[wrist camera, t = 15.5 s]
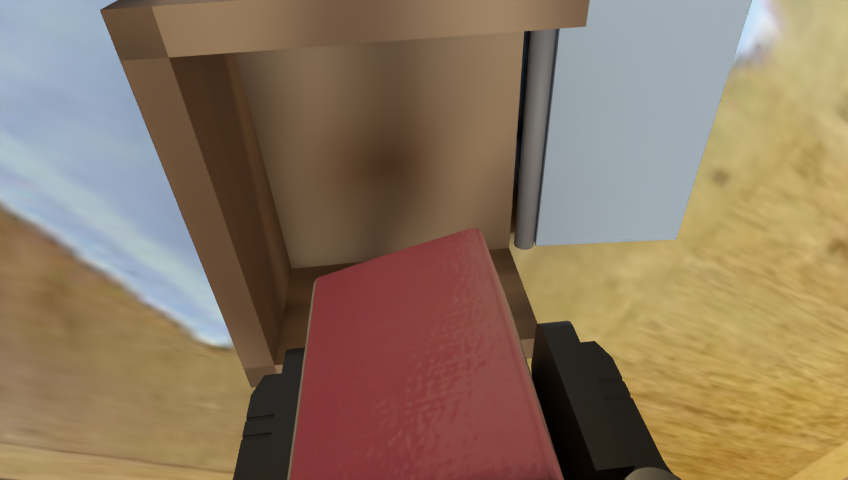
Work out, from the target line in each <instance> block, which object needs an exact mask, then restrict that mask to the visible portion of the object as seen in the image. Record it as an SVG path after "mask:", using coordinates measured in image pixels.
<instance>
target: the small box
mask: <svg viewBox="0 0 848 480" xmlns="http://www.w3.org/2000/svg"><path fill="white" fill-rule="evenodd" d="M287 480H564V478H563V475H562V471H561V468H560V465H559V462H558V459H557V455H556V452H555V449H554V446H553V443H552V440H551V437H550V433H549V430H548V427H547V424H546V421H545V417H544V414H543V411H542V408H541V405H540V401H539V398H538V395H537V392H536V389H535V385H534V382H533V379H532V376H531V373H530V369H529V366H528V363H527V360H526V356H525V353H524V350H523V347H522V344H521V341H520V338H519V335H518V331H517V328H516V325H515V322H514V319H513V316H512V313H511V310H510V307H509V304H508V301H507V298H506V295H505V292H504V290H503V287H502V285H501V282H500V279H499V277H498V274H497V272H496V269H495V266H494V264H493V261H492V258H491V256H490V253H489V250H488V248H487V245H486V242H485V240H484V237H483V235H482V233H481V231H480V230H479V229H477V228H469V229H466V230H463V231H460V232H457V233H453V234H451V235H447V236H444V237H441V238H438V239H434V240H431V241H428V242H424V243H421V244H418V245H415V246H412V247H408V248H405V249H402V250H399V251H396V252H393V253H389V254H386V255H383V256H380V257H377V258H374V259H372V260H368V261H365V262H363V263H360V264H356V265H353V266H351V267H348V268H345V269H343V270H340V271H337V272H333V273H331V274H328V275H324V276H321V277H318V278H317V279H316V280H315V282H314V286H313V293H312V300H311V308H310V315H309V322H308V330H307V339H306V346H305V352H304V359H303V367H302V375H301V383H300V390H299V397H298V405H297V413H296V420H295V427H294V434H293V441H292V449H291V456H290V464H289V470H288V477H287Z"/></svg>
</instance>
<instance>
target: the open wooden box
mask: <svg viewBox="0 0 848 480" xmlns="http://www.w3.org/2000/svg"><path fill="white" fill-rule="evenodd" d="M589 2H590V0H117V1H116V2H114V3H112V4H110V5H108V6H106V7H105V8H103V9H101V10H100V12H101V14H102V17H103V19H104V21H105V24H106V26H107V29H108V31H109V34H110V36H111V39H112V41H113V44H114V46H115V49H116V51H117V54H118V56H119V59H120V61H121V64H122V66H123V69H124V71H125V74H126V76H127V79H128V81H129V84H130V86H131V89H132V91H133V94H134V96H135V99H136V101H137V104H138V106H139V109H140V111H141V114H142V116H143V119H144V121H145V124H146V126H147V129H148V131H149V134H150V136H151V139H152V141H153V144H154V146H155V149H156V151H157V154H158V156H159V159H160V161H161V164H162V166H163V169H164V171H165V174H166V176H167V179H168V181H169V184H170V186H171V189H172V191H173V194H174V196H175V199H176V201H177V204H178V206H179V209H180V211H181V214H182V216H183V219H184V221H185V224H186V226H187V229H188V231H189V234H190V236H191V239H192V241H193V243H194V246H195V248H196V251H197V253H198V256H199V258H200V261H201V263H202V266H203V268H204V271H205V273H206V276H207V278H208V281H209V283H210V286H211V288H212V291H213V293H214V296H215V298H216V301H217V303H218V306H219V308H220V311H221V313H222V316H223V318H224V321H225V323H226V326H227V328H228V331H229V333H230V336H231V338H232V341H233V343H234V346H235V348H236V351H237V353H238V356H239V358H240V361H241V363H242V366H243V368H244V371H245V373H246V376H247V378H248V381H249V383H250V386H251V388H252V387H257V386H258V384H259V383H260V381H261V380H262V378H263V377H264V375H270V374H279V373H282V368H283V361H284V356H285V352H286V350H287V349H292V348H302V347H305V346H306V339H307V330H308V322H309V315H310V308H311V300H312V293H313V286H314V282H315V280H316V279H317V278H318V277H321V276H324V275H328V274H331V273H333V272H337V271H340V270H343V269H345V268H348V267H351V266H353V265H356V264H360V263H363V262H365V261H368V260H372V259H374V258H377V257H380V256H383V255H386V254H389V253H393V252H396V251H399V250H402V249H405V248H408V247H412V246H415V245H418V244H421V243H424V242H428V241H431V240H434V239H438V238H441V237H444V236H447V235H451V234H453V233H457V232H460V231H463V230H466V229H469V228H477V229H479V230H480V231H481V233H482V235H483V237H484V240H485V242H486V245H487V248H488V250H489V253H490V256H491V258H492V261H493V264H494V266H495V269H496V272H497V274H498V277H499V279H500V282H501V285H502V287H503V290H504V292H505V295H506V298H507V301H508V304H509V307H510V310H511V313H512V316H513V319H514V322H515V325H516V328H517V331H518V335H519V338H520V341H521V344H522V347H523V350H524V353H525V356H526V359H527V358H532V355H533V347H534V338H535V330H536V326H537V321H536V319H535V316H534V313H533V311H532V308H531V305H530V303H529V300H528V297H527V295H526V292H525V289H524V287H523V284H522V281H521V279H520V276H519V273H518V271H517V268H516V265H515V263H514V260H513V257H512V255H511V252H510V250H509V240H510V226H511V211H512V197H513V183H514V169H515V154H516V140H517V126H518V111H519V97H520V83H521V69H522V54H523V40H524V31H535V30H548V29H562V28H575V27H586V23H587V16H588V9H589Z"/></svg>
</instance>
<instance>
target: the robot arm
mask: <svg viewBox="0 0 848 480" xmlns="http://www.w3.org/2000/svg"><path fill="white" fill-rule="evenodd" d="M304 352H305V347H302V348H292V349H287V350H286V352H285V356H284V361H283V368H282V373H279V374H270V375H264V377H263V378H262V380H261V381H260V383H259V384H258V386H257V387H256V389H255V390H254V392H253V393H252V395H251V398H250V403H249V408H248V412H247V417H246V418H247V421H246V422H245V426H244V431H243V435H242V436H243V440H241V445H240V449H239V454H238V459H237V463H236V468H235V473H234V477H233V480H287V477H288V470H289V464H290V456H291V449H292V441H293V434H294V427H295V420H296V413H297V405H298V397H299V390H300V383H301V375H302V367H303V359H304ZM531 373H532V379H533V382H534V385H535V389H536V392H537V395H538V398H539V401H540V405H541V408H542V411H543V414H544V417H545V421H546V424H547V427H548V430H549V433H550V437H551V440H552V443H553V446H554V449H555V452H556V455H557V459H558V462H559V465H560V468H561V471H562V475H563V478H564V480H681V479H680V478H679V477H677V476H675V475H674V474H673V473H672V472H671V471H670V470H669V468H668V467H667V466H666V464H665V462H664V461H663V459H662V457H661V455H660V453H659V451H658V449H657V447H656V445H655V443H654V441H653V439H652V437H651V435H650V433H649V431H648V429H647V427H646V425H645V423H644V421H643V419H642V417H641V415H640V413H639V411H638V409H637V407H636V405H635V403H634V401H633V399H632V398H631V397H630V392H629V390H628V388H627V386H626V384H625V382H623V381H622V376H621V374H620V372H619V370H618V368H617V366H616V364H615V362H614V360H613V358H612V357H611V356H610V355H609V354H608V353H607V352H606V351H605V350H604V349H603V348H602V347H601V346H599V345H598V344H597V343H596V342H595V341H591V342H582V343H580V341H579V338H578V336H577V334H576V332H575V329H574V327H573V325H572V324H571V322H570V321H561V322H551V323H541V324H537V326H536V330H535V338H534V347H533V355H532V363H531Z"/></svg>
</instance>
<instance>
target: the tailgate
mask: <svg viewBox="0 0 848 480" xmlns="http://www.w3.org/2000/svg"><path fill="white" fill-rule="evenodd" d="M751 2H752V0H590V2H589V9H588V16H587V23H586V27H575V28H562V29H548V30H535V31H530V41H529V54H528V67H527V80H526V93H525V106H524V119H523V132H522V145H521V158H520V171H519V184H518V197H517V210H516V223H515V236H514V245H515V246H516V247H517V248H519V249H524V250H526V249H530V248H532V247H533V246H534V242H535V245H536V246H545V245H566V244H588V243H609V242H630V241H652V240H673V239H676V238H677V235H678V232H679V229H680V226H681V223H682V219H683V216H684V213H685V210H686V207H687V204H688V200H689V197H690V194H691V191H692V188H693V185H694V182H695V178H696V175H697V172H698V169H699V166H700V163H701V159H702V156H703V153H704V150H705V147H706V144H707V141H708V137H709V134H710V131H711V128H712V125H713V122H714V118H715V115H716V112H717V109H718V106H719V103H720V100H721V96H722V93H723V90H724V87H725V84H726V81H727V77H728V74H729V71H730V68H731V65H732V62H733V59H734V55H735V52H736V49H737V46H738V43H739V40H740V36H741V33H742V30H743V27H744V24H745V21H746V18H747V14H748V11H749V8H750V5H751Z"/></svg>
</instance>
